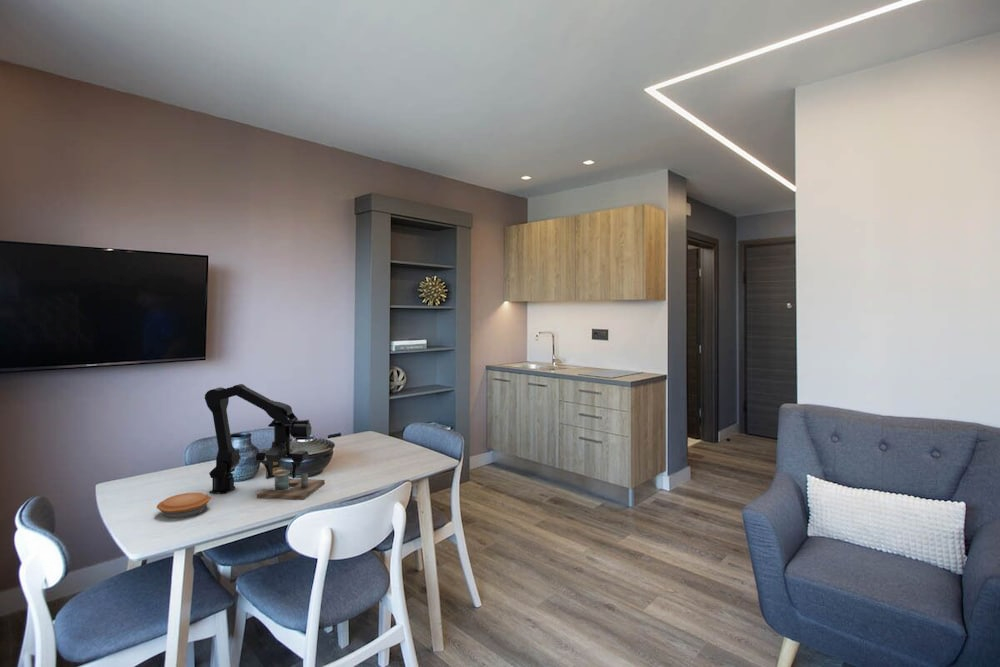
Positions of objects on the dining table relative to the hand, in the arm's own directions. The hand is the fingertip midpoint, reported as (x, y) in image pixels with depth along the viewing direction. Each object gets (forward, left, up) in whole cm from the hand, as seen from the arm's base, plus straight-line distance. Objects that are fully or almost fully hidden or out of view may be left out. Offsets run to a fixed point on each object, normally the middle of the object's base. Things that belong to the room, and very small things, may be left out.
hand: (282, 477), depth 189 cm
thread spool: (0, 0, -5) cm, 5 cm away
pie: (-22, -24, -5) cm, 33 cm away
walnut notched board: (+4, 0, -5) cm, 6 cm away
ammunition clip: (-10, +17, -5) cm, 20 cm away
